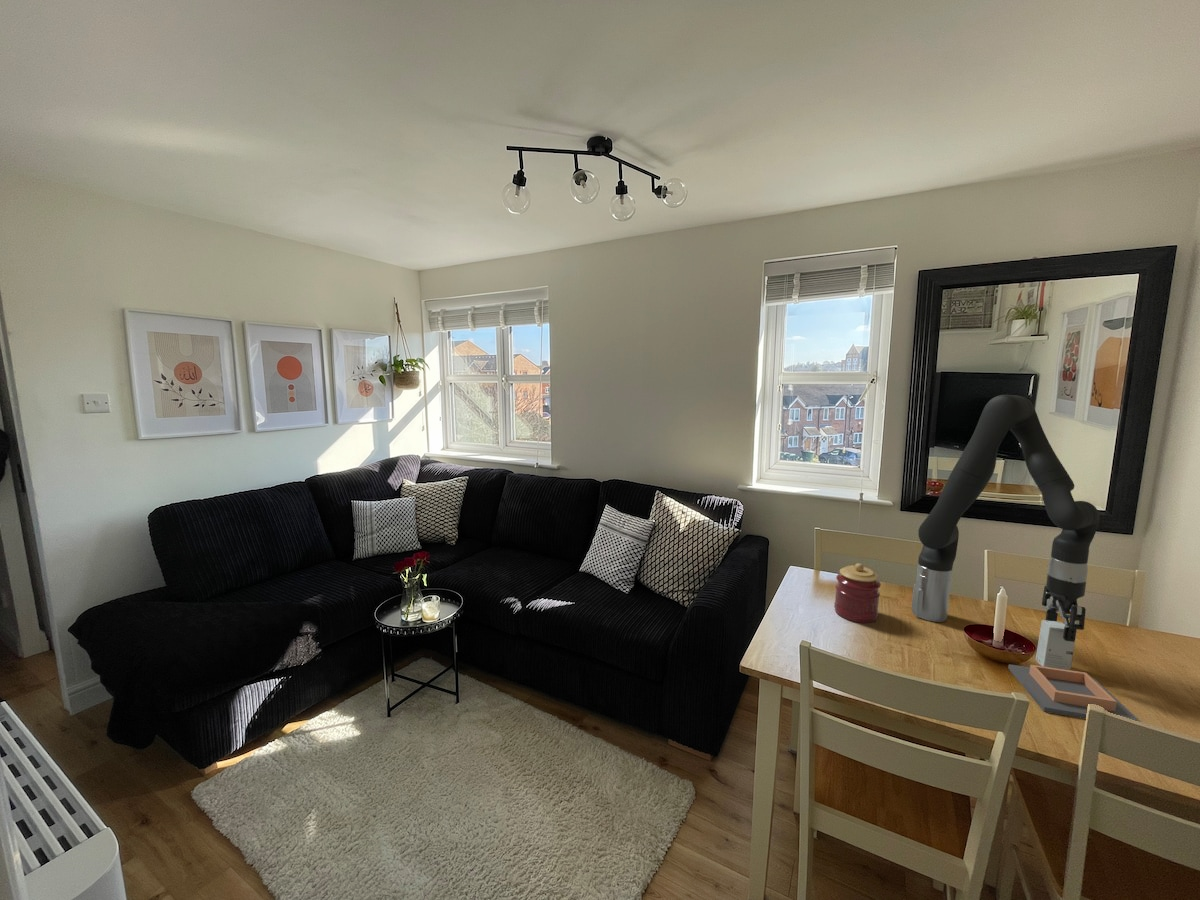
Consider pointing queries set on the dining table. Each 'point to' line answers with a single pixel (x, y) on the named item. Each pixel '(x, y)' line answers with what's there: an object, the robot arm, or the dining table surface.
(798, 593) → the dining table surface
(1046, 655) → the skincare box
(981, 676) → the dining table surface
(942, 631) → the dining table surface
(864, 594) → the canister
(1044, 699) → the collar stand
